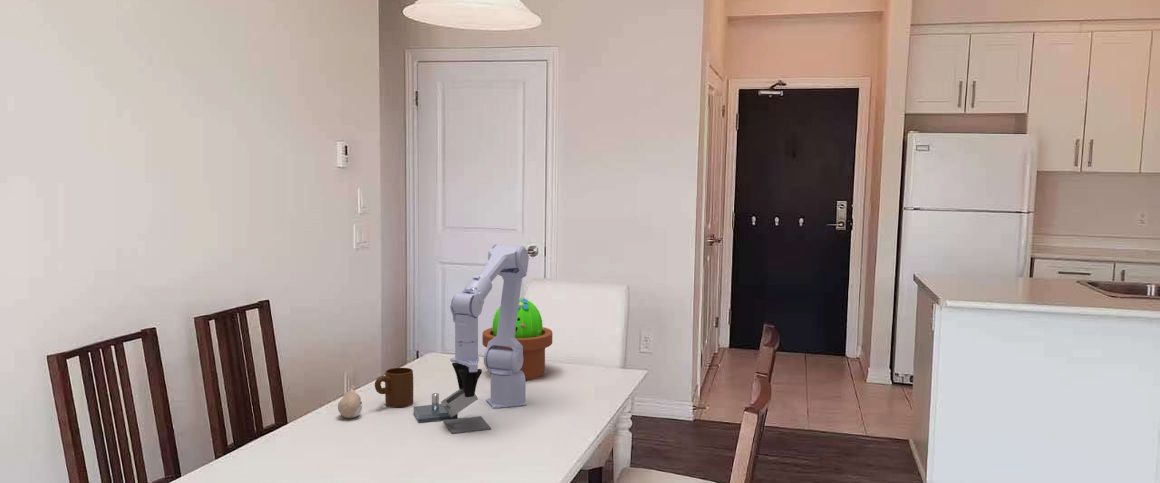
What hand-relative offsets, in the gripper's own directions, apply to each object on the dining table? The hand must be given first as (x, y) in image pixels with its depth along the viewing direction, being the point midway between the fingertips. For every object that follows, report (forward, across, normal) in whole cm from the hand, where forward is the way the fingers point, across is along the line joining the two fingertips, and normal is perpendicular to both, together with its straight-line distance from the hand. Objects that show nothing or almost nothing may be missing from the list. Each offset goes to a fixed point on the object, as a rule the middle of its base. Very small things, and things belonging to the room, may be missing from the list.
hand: (466, 393), depth 201 cm
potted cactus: (+8, -44, +27) cm, 52 cm away
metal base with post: (+8, -10, -6) cm, 14 cm away
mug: (+9, -23, -15) cm, 29 cm away
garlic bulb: (+9, -17, -27) cm, 33 cm away
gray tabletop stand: (+3, 0, -1) cm, 3 cm away
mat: (+8, 0, 0) cm, 8 cm away
